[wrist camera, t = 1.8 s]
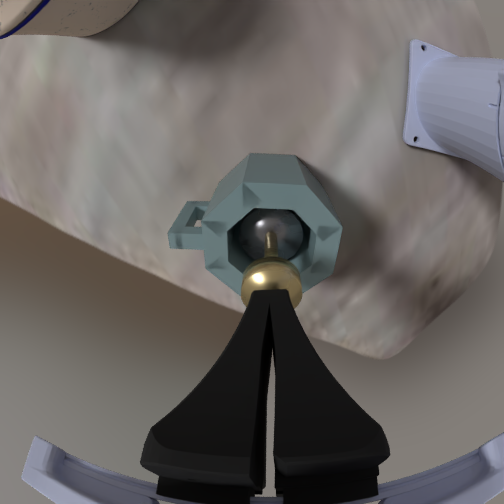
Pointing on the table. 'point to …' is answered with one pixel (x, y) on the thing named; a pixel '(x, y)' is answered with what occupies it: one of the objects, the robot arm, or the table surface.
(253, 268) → the plunger
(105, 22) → the teacup with lid
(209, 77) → the table surface
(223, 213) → the tea press body
